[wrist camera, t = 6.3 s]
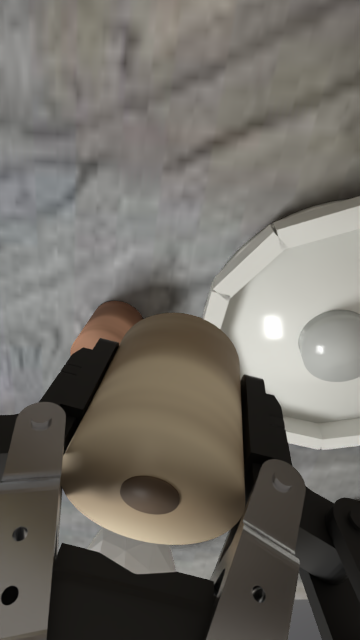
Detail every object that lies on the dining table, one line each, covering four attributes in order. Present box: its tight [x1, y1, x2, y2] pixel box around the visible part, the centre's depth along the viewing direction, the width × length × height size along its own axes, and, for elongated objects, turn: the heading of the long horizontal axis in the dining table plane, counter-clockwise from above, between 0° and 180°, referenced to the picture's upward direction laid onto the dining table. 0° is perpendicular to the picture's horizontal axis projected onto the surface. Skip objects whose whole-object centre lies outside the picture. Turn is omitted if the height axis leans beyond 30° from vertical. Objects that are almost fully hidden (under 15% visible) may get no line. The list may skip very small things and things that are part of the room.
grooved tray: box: [202, 196, 360, 450], centre depth 28 cm, size 23×23×3 cm
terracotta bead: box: [70, 301, 143, 355], centre depth 29 cm, size 5×5×6 cm
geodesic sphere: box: [87, 527, 176, 574], centre depth 44 cm, size 14×14×14 cm
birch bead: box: [61, 313, 245, 545], centre depth 11 cm, size 5×5×6 cm
